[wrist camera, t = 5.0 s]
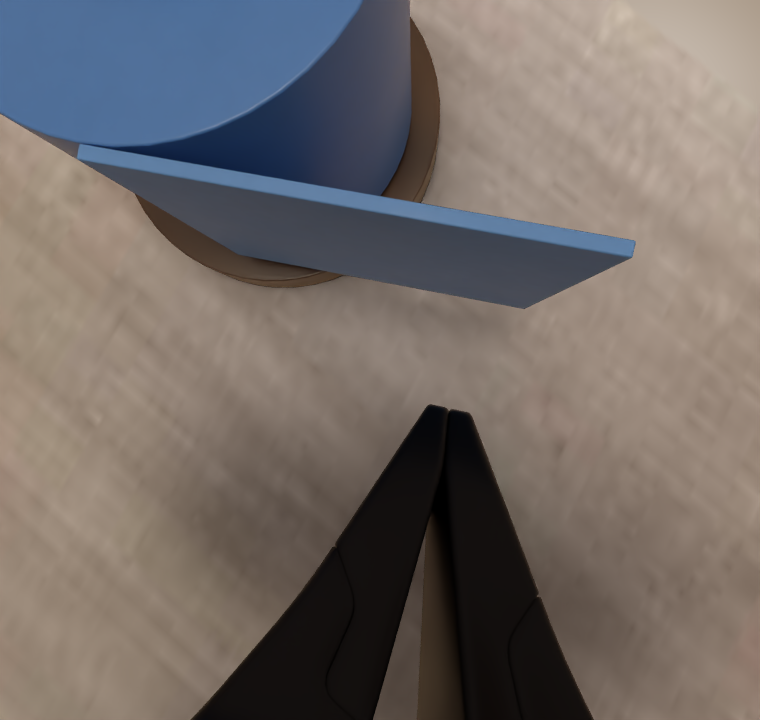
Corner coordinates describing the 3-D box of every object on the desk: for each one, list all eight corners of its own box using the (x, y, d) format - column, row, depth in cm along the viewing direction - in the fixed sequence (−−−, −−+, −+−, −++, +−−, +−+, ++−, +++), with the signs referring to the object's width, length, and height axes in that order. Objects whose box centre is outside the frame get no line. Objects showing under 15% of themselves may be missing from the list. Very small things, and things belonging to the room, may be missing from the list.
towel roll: (521, 310, 15) (687, 232, 6) (114, 233, 17) (-286, 65, 7) (583, 12, 15) (854, -556, 6) (167, -45, 16) (-171, -594, 7)
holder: (404, 313, 18) (403, 309, 16) (117, 258, 18) (91, 249, 17) (466, 8, 17) (470, -25, 16) (173, -33, 18) (151, -68, 17)
